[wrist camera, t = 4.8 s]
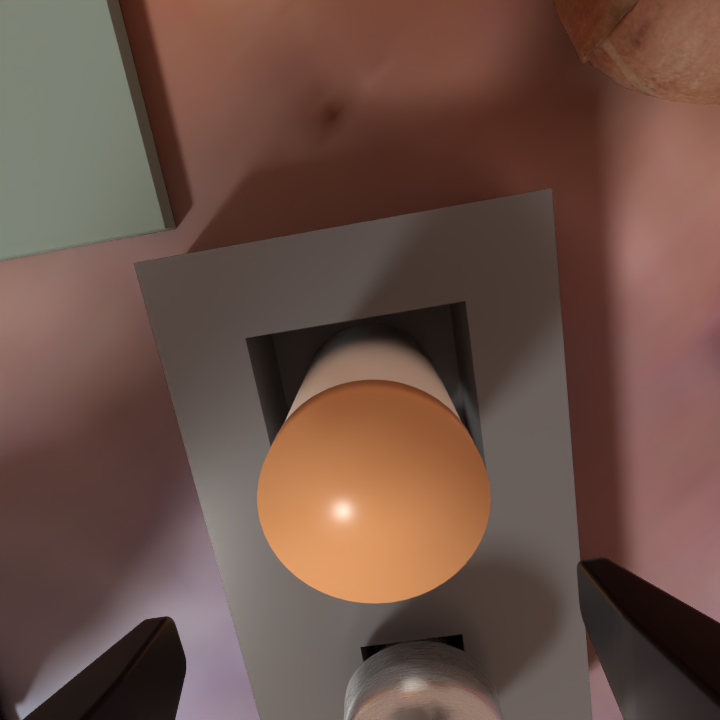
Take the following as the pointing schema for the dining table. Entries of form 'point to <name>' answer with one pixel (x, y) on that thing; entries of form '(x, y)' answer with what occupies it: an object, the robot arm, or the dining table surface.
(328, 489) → the small lidded jar
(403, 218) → the housing
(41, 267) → the dining table surface
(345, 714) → the plunger
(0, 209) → the mat
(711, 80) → the onion
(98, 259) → the dining table surface
